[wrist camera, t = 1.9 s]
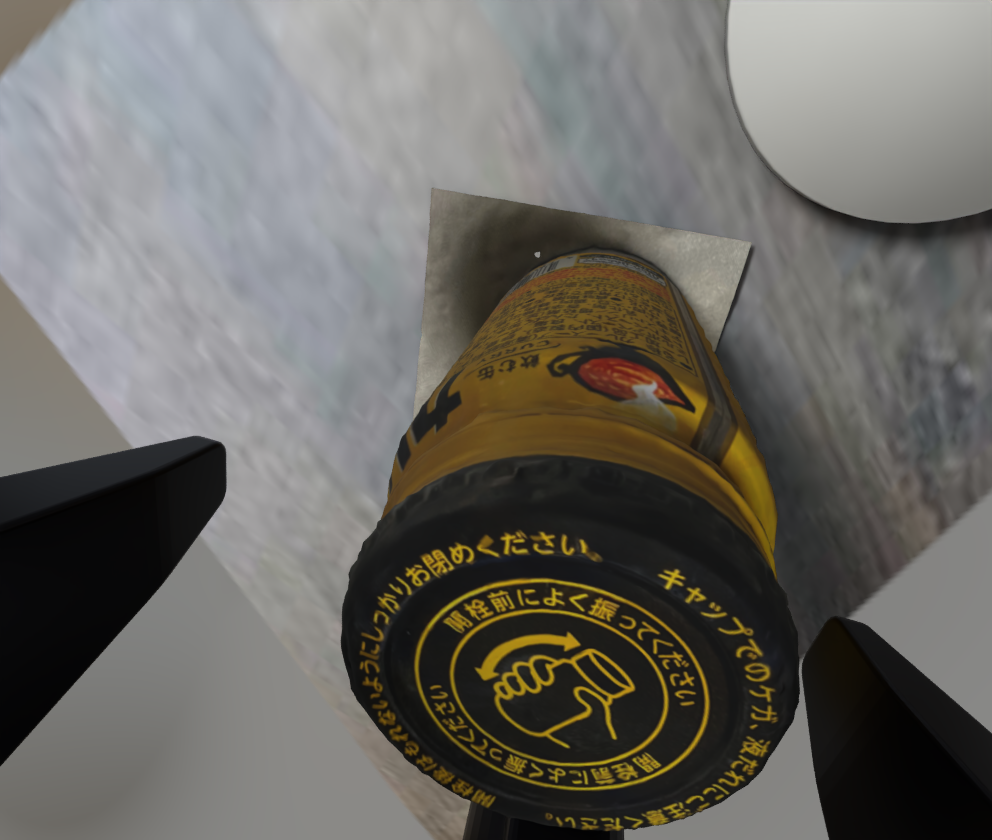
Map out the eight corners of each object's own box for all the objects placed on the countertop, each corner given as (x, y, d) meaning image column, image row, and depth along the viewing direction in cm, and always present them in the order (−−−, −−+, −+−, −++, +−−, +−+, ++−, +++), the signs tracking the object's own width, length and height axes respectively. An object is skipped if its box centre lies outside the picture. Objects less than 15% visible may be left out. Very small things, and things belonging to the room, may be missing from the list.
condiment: (672, 477, 18) (757, 946, 7) (413, 422, 19) (158, 771, 8) (750, 240, 15) (1094, 466, 4) (434, 186, 16) (62, 261, 5)
